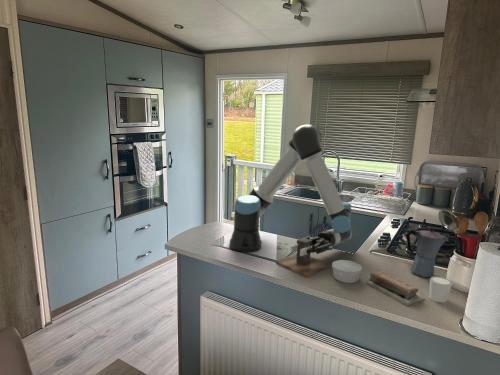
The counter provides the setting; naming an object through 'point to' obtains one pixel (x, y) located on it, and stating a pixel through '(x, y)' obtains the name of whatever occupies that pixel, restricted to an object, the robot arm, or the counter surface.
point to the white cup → (439, 289)
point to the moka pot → (425, 251)
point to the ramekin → (346, 271)
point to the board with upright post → (303, 261)
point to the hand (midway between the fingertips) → (296, 251)
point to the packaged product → (394, 288)
